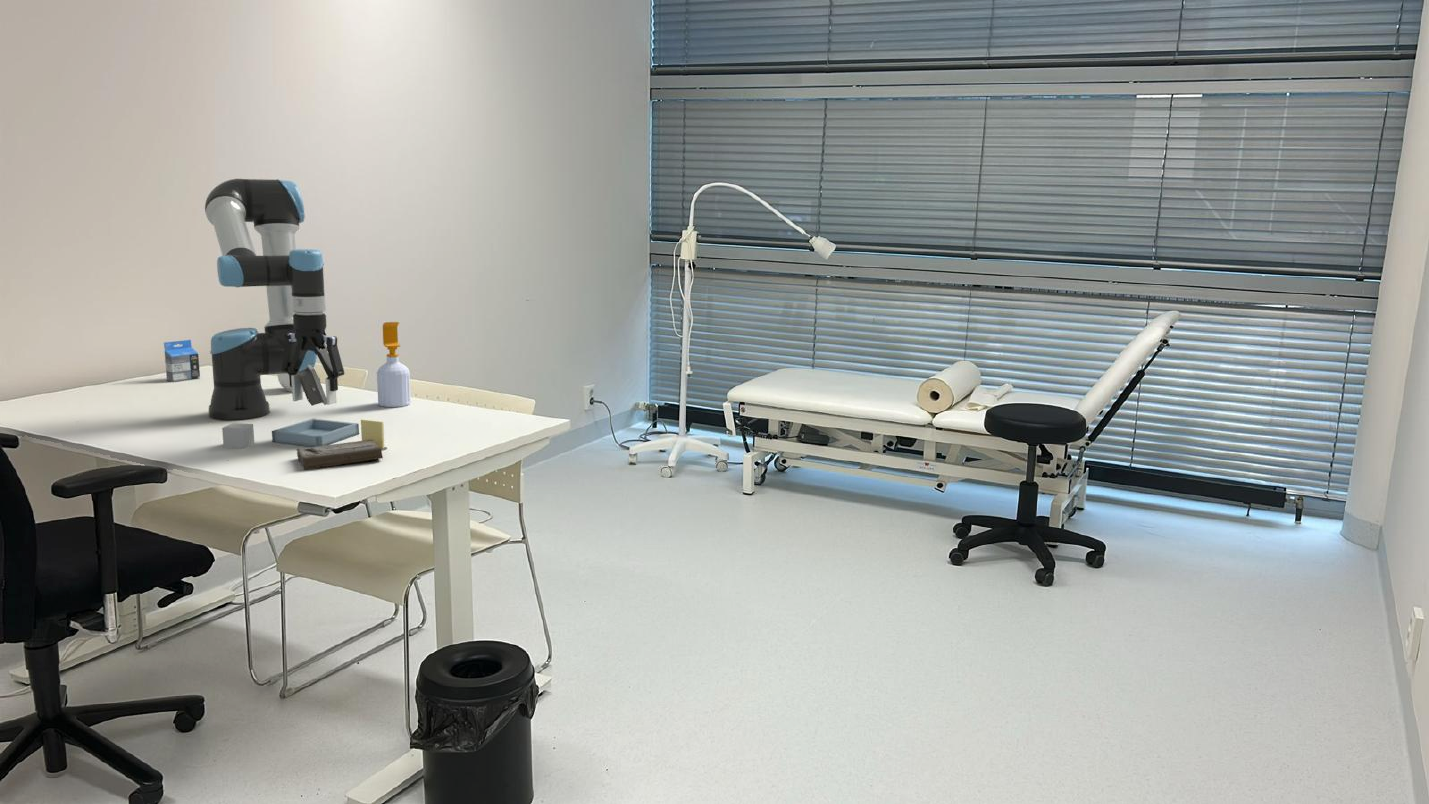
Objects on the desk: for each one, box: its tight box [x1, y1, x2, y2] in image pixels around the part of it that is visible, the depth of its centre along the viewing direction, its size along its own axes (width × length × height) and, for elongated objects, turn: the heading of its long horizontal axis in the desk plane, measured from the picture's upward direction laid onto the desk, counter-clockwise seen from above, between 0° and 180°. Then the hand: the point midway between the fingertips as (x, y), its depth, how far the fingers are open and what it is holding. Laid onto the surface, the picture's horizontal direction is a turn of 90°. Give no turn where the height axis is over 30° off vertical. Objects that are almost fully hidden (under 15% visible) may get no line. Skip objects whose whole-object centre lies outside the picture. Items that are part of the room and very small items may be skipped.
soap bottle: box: [376, 321, 412, 408], centre depth 282 cm, size 9×9×25 cm
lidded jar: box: [276, 373, 304, 392], centre depth 299 cm, size 11×11×9 cm
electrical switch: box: [297, 365, 327, 407], centre depth 241 cm, size 9×5×9 cm, turn 30°
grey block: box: [221, 422, 255, 449], centre depth 235 cm, size 5×5×5 cm
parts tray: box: [271, 417, 360, 448], centre depth 244 cm, size 14×15×3 cm
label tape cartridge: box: [163, 339, 201, 383], centre depth 309 cm, size 9×4×12 cm, turn 147°
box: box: [296, 440, 384, 471], centre depth 225 cm, size 11×17×3 cm, turn 120°
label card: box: [360, 419, 388, 451], centre depth 235 cm, size 6×2×7 cm, turn 73°
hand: (314, 401), depth 242 cm, fingers closed on electrical switch, 9 cm apart
